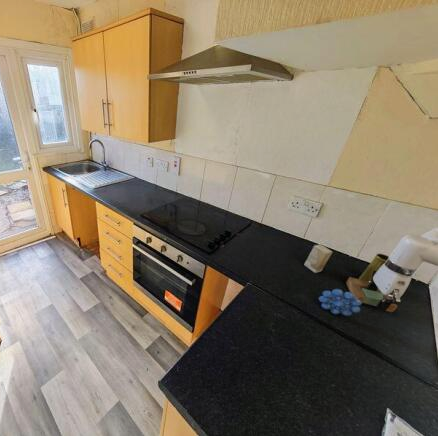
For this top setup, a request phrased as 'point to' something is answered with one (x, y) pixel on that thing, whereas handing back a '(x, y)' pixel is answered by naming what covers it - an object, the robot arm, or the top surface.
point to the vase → (373, 267)
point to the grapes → (340, 302)
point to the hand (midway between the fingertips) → (375, 299)
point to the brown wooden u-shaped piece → (356, 287)
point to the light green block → (372, 296)
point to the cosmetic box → (318, 258)
